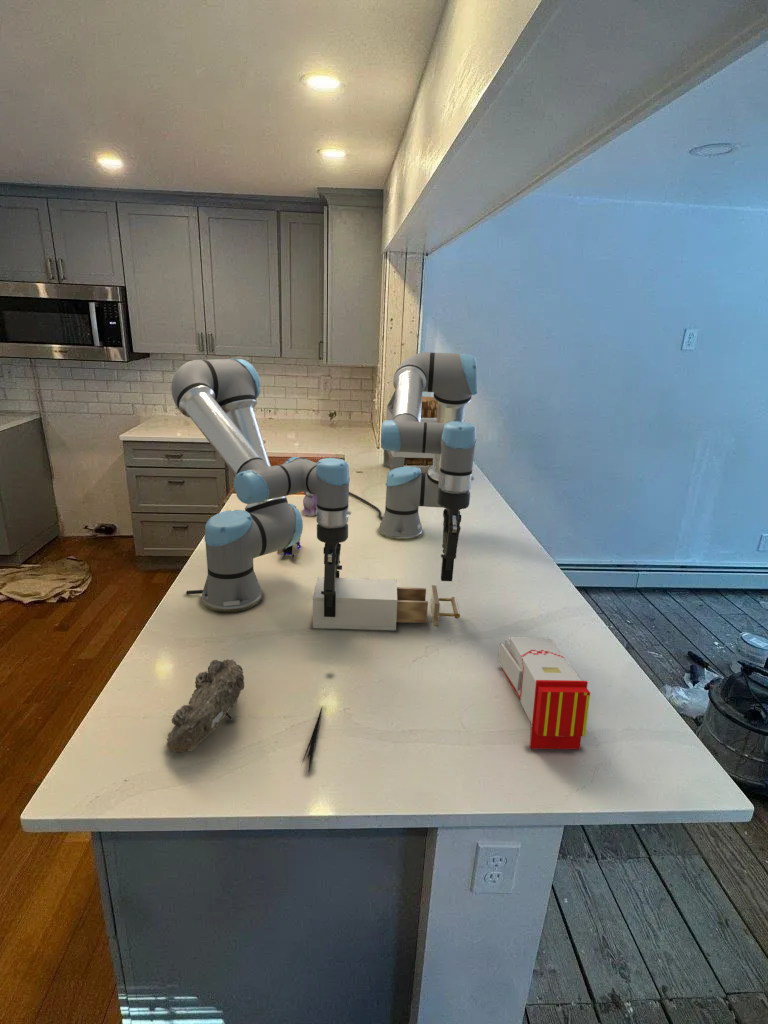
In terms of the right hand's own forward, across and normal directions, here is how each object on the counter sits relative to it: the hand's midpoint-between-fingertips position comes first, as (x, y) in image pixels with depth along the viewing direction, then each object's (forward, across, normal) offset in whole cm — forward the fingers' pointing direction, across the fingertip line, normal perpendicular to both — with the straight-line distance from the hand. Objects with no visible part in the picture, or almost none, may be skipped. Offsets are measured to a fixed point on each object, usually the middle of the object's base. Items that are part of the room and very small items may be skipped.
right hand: (446, 579), depth 141 cm
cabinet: (+12, 0, +22) cm, 25 cm away
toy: (+12, -30, -16) cm, 36 cm away
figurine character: (+12, +39, +45) cm, 60 cm away
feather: (+12, -38, +27) cm, 48 cm away
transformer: (+12, +138, -2) cm, 139 cm away
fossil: (+12, -38, +48) cm, 62 cm away
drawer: (+11, 0, +9) cm, 14 cm away
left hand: (+8, 0, +28) cm, 30 cm away
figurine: (+12, +77, +42) cm, 88 cm away
